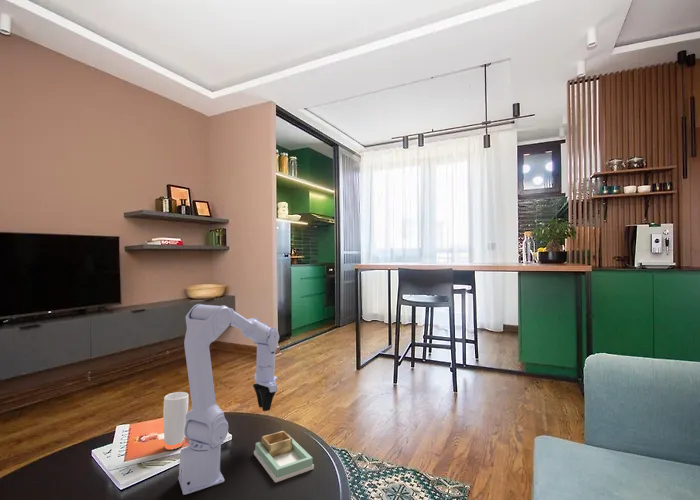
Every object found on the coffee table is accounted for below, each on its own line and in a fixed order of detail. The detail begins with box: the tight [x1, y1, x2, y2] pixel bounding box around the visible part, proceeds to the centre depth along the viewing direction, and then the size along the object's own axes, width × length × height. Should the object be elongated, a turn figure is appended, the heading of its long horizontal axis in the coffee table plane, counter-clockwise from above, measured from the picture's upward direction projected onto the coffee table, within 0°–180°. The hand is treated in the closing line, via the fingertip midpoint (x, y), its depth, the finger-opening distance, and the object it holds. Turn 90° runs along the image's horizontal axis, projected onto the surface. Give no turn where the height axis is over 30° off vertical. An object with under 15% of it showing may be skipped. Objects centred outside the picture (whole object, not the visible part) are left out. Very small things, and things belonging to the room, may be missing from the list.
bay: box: [253, 436, 315, 483], centre depth 96 cm, size 11×16×3 cm
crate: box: [260, 430, 293, 457], centre depth 99 cm, size 7×6×4 cm
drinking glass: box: [162, 391, 190, 445], centre depth 103 cm, size 7×7×15 cm
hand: (264, 408), depth 108 cm, fingers open, 3 cm apart
